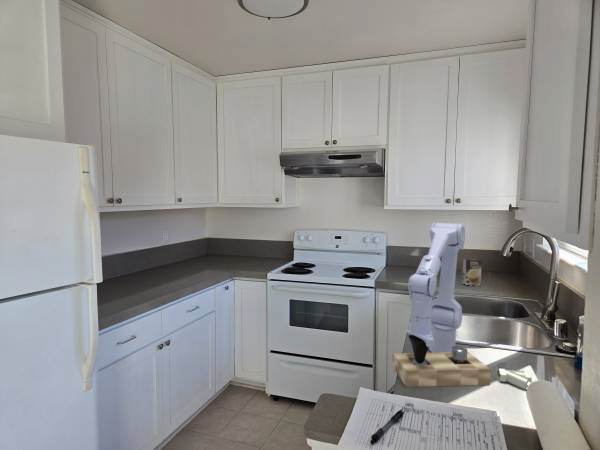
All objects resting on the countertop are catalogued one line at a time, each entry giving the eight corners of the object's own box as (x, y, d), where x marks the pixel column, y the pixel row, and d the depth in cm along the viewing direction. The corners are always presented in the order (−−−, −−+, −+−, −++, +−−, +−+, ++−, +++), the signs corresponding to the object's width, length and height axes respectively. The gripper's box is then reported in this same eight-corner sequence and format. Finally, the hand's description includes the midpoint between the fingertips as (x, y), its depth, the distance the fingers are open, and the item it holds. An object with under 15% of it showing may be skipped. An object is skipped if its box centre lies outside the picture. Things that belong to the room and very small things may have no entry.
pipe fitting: (535, 394, 100) (526, 381, 107) (537, 381, 99) (527, 368, 106) (503, 391, 102) (496, 377, 108) (504, 377, 101) (497, 365, 108)
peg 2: (448, 359, 111) (449, 346, 111) (462, 358, 111) (462, 345, 111) (455, 365, 107) (456, 351, 107) (469, 365, 107) (470, 351, 107)
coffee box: (465, 286, 225) (466, 260, 224) (461, 283, 231) (462, 258, 230) (481, 286, 224) (482, 260, 223) (477, 284, 230) (478, 258, 229)
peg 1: (409, 371, 110) (409, 358, 110) (423, 371, 111) (423, 358, 110) (414, 378, 106) (415, 364, 106) (428, 378, 106) (429, 364, 106)
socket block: (392, 367, 114) (392, 353, 114) (467, 365, 116) (468, 351, 115) (406, 386, 102) (406, 371, 102) (489, 384, 104) (490, 369, 103)
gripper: (399, 308, 114) (397, 351, 115) (417, 324, 100) (415, 373, 101) (421, 308, 115) (419, 350, 116) (442, 323, 100) (440, 372, 101)
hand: (419, 361), depth 108 cm, fingers closed
